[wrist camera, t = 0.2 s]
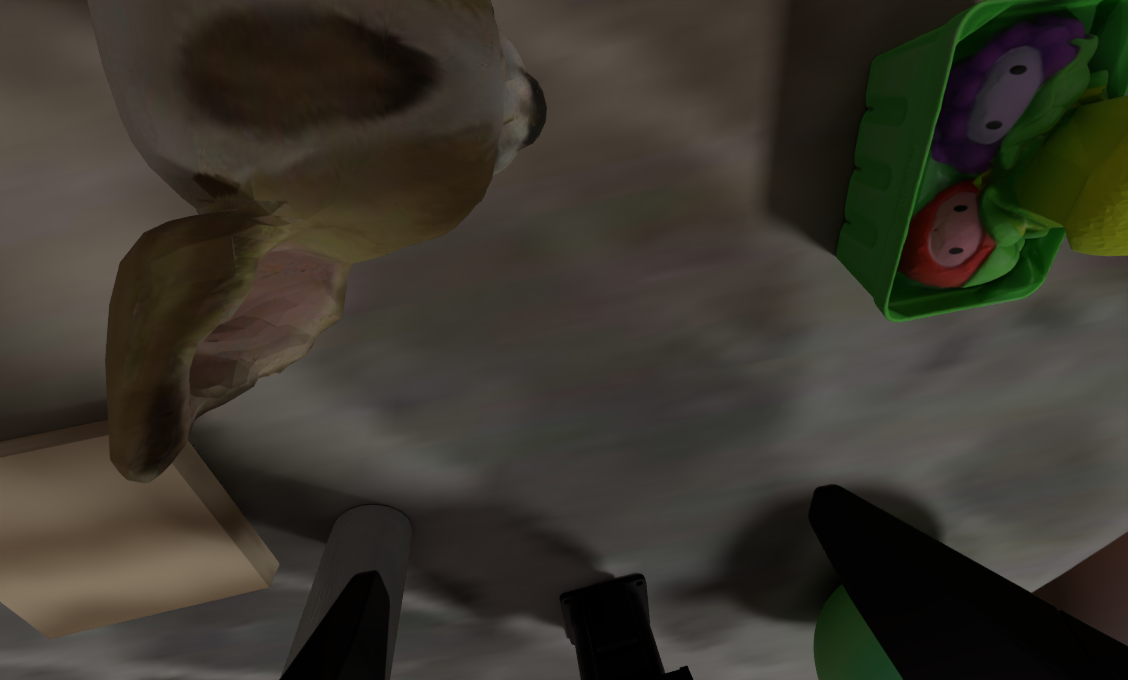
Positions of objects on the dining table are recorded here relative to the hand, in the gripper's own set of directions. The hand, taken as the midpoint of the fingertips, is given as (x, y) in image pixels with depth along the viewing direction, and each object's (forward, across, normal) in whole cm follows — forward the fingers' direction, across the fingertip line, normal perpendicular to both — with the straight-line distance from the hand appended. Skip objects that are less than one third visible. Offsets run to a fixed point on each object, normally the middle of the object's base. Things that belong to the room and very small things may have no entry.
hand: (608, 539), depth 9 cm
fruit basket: (+14, -18, -4) cm, 24 cm away
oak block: (+15, +24, +10) cm, 30 cm away
